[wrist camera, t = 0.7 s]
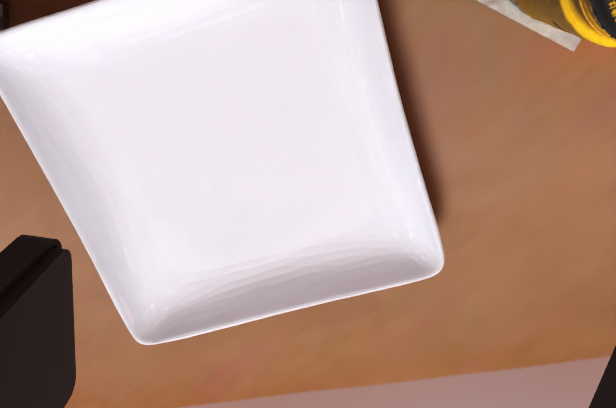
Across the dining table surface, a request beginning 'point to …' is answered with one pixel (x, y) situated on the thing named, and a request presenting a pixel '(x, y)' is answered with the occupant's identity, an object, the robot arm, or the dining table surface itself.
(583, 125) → the dining table surface
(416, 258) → the salad plate
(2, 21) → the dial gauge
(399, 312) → the dining table surface
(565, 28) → the condiment
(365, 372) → the dining table surface
